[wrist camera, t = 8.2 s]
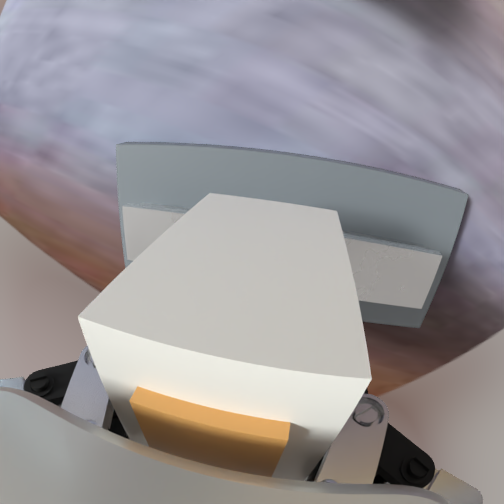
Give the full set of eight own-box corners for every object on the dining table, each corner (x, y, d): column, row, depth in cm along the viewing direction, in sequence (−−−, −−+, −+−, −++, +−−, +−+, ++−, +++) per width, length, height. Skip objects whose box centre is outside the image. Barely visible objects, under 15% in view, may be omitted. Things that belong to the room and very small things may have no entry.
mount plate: (460, 189, 15) (487, 207, 12) (415, 317, 20) (427, 350, 16) (126, 142, 18) (92, 150, 15) (134, 270, 22) (110, 295, 19)
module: (336, 210, 11) (374, 399, 4) (301, 359, 15) (282, 514, 7) (209, 192, 12) (65, 329, 4) (207, 342, 15) (147, 482, 8)
